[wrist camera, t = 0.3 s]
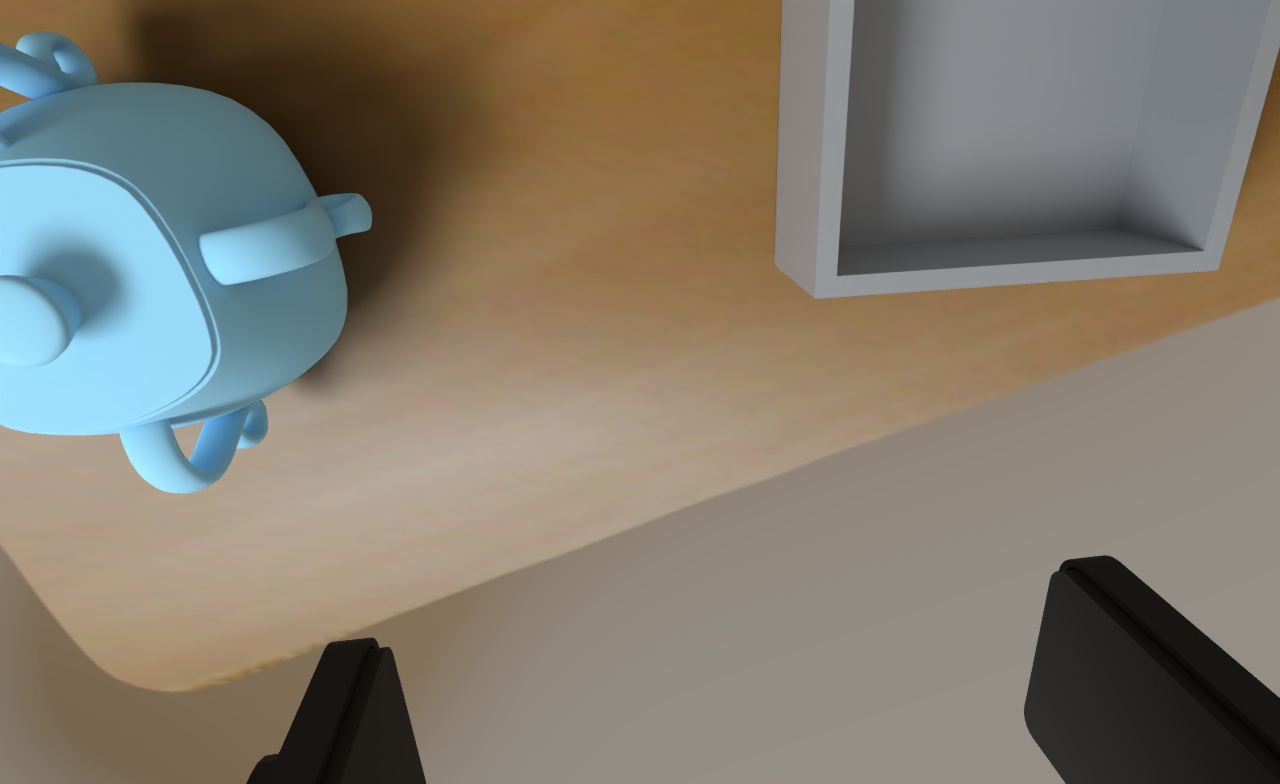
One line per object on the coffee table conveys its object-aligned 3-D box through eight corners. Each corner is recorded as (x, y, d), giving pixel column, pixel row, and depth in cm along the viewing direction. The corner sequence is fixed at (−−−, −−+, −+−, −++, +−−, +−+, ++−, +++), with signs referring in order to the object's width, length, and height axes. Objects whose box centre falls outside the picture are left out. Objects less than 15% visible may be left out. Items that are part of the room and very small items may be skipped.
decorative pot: (271, 443, 41) (143, 597, 29) (-28, 279, 36) (-342, 379, 24) (424, 215, 37) (352, 279, 25) (110, -6, 32) (-181, -68, 20)
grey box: (787, -179, 32) (843, -247, 25) (1209, -189, 33) (1363, -256, 27) (774, 265, 40) (814, 298, 33) (1116, 242, 41) (1218, 270, 35)
